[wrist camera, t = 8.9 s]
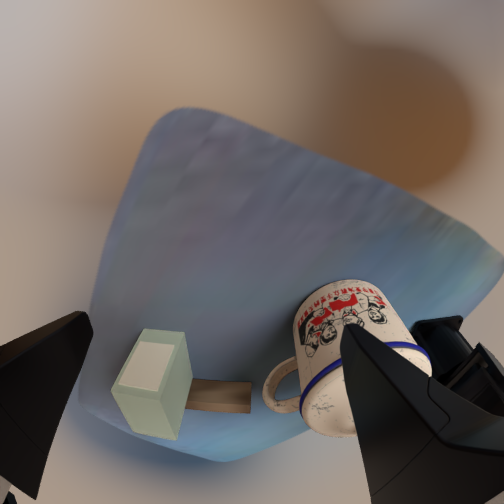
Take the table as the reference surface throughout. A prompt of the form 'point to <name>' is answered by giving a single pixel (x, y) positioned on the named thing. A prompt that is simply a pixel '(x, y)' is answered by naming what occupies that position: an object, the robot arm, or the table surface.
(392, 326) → the teacup with lid
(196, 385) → the wooden block
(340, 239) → the table surface
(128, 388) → the sage tin
